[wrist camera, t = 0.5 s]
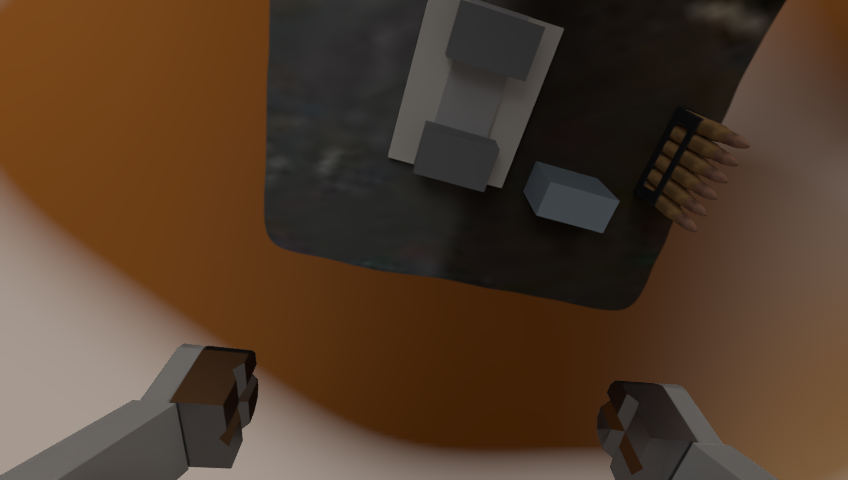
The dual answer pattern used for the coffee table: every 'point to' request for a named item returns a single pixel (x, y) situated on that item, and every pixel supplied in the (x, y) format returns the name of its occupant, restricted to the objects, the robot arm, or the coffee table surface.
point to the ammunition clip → (686, 165)
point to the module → (569, 197)
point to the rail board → (471, 91)
